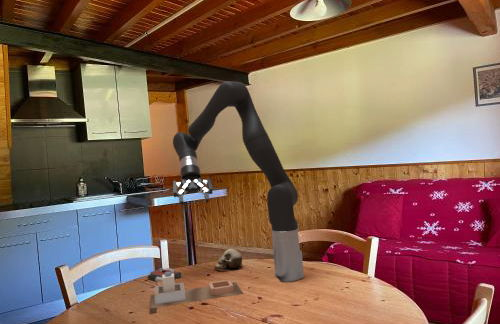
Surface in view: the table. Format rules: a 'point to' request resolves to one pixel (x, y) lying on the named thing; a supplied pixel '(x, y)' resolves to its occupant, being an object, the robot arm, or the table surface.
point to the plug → (168, 282)
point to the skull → (229, 261)
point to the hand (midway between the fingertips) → (194, 202)
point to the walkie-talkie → (158, 274)
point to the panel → (195, 296)
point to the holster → (221, 287)
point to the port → (169, 295)
